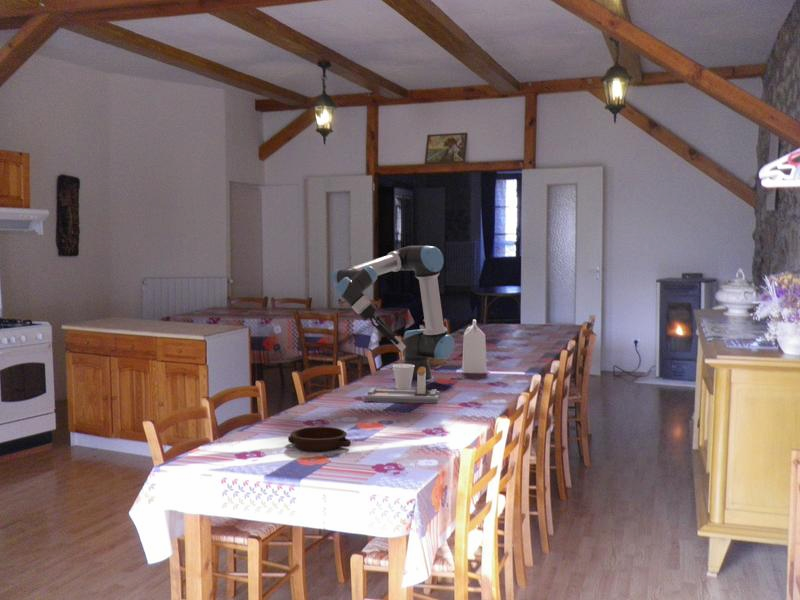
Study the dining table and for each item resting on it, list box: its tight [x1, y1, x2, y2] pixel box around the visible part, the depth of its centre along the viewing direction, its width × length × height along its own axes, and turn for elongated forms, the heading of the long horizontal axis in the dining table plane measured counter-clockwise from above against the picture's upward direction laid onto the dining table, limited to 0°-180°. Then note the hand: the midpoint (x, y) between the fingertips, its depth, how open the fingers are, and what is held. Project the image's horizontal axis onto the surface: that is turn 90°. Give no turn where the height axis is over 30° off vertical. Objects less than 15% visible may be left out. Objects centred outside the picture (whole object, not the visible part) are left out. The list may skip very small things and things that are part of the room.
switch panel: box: [364, 387, 440, 404], centre depth 332 cm, size 30×14×4 cm, turn 82°
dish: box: [287, 426, 352, 453], centre depth 257 cm, size 18×22×5 cm
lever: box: [414, 366, 429, 396], centre depth 331 cm, size 5×8×12 cm, turn 173°
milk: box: [461, 319, 488, 374], centre depth 400 cm, size 12×12×26 cm
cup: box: [392, 363, 415, 390], centre depth 351 cm, size 10×10×11 cm
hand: (403, 349), depth 331 cm, fingers closed
